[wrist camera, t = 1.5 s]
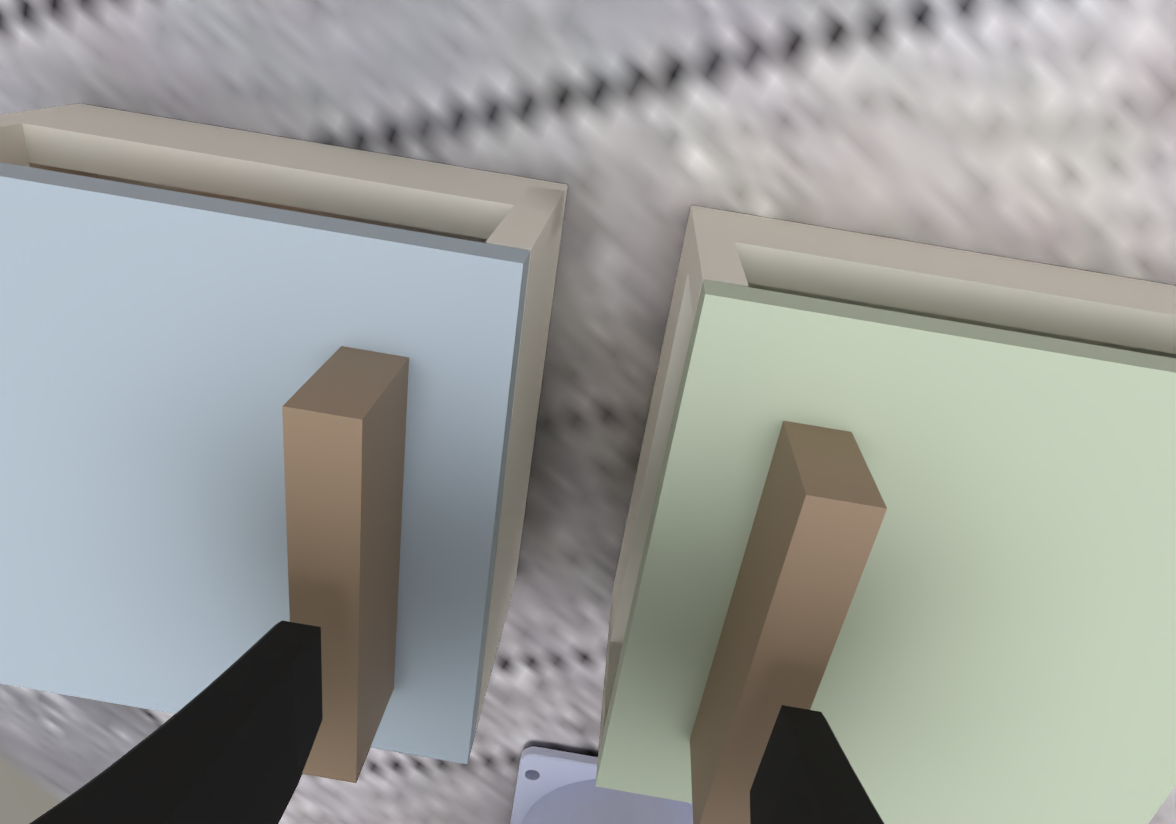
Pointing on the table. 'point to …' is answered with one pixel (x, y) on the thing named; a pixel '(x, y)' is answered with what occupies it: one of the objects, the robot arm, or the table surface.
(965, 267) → the crate
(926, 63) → the table surface
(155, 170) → the crate
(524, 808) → the robot arm
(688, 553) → the lid
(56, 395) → the lid
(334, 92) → the table surface
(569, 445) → the table surface
